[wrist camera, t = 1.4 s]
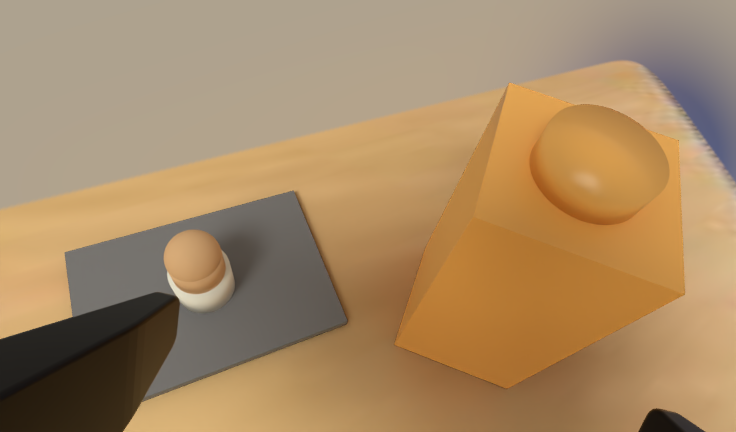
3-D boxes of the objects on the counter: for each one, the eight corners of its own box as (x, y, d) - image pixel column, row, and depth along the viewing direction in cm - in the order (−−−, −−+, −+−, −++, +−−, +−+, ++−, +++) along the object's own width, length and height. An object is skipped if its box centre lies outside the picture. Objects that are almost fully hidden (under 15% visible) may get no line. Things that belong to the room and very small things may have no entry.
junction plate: (293, 195, 27) (292, 138, 23) (346, 324, 24) (357, 285, 19) (68, 256, 24) (17, 202, 19) (90, 421, 20) (32, 399, 16)
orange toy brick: (506, 388, 23) (718, 276, 11) (393, 344, 23) (488, 192, 12) (524, 285, 26) (705, 115, 15) (425, 248, 27) (523, 54, 15)
